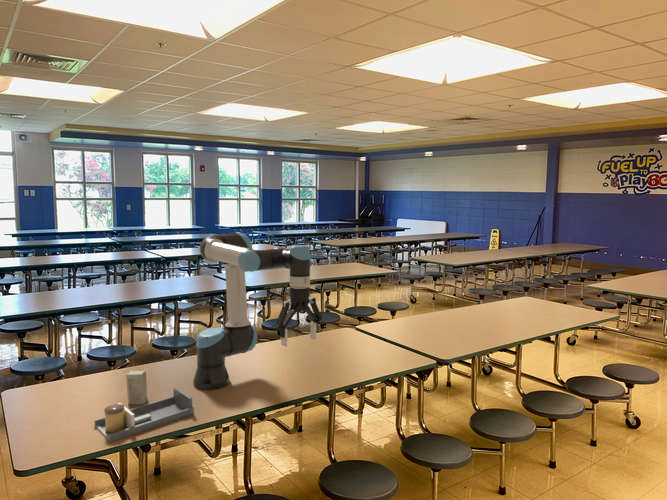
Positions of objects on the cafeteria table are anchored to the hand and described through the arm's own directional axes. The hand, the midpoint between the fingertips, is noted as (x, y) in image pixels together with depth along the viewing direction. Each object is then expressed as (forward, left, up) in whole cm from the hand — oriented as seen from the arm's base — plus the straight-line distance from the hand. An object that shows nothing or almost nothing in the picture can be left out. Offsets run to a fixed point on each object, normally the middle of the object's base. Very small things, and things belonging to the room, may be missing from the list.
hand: (299, 342), depth 178 cm
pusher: (-32, -49, -26) cm, 64 cm away
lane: (-32, -46, -27) cm, 62 cm away
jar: (-32, -57, -27) cm, 70 cm away
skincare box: (-49, -42, -27) cm, 70 cm away
